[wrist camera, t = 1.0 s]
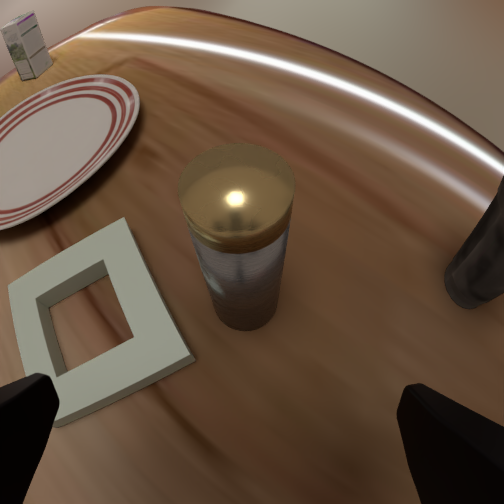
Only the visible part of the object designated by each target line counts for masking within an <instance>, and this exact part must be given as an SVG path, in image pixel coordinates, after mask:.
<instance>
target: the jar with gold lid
mask: <svg viewBox="0 0 504 504" xmlns="http://www.w3.org/2000/svg"><path fill="white" fill-rule="evenodd" d="M294 192H295V178H294V174H293V172H292V170H291V168H290V166H289V165H288V164H287V162H286V161H285V160H284V159H283V158H282V157H281V156H279V155H278V154H276V153H275V152H273V151H271V150H269V149H267V148H264V147H261V146H258V145H253V144H246V143H233V144H225V145H221V146H217V147H214V148H211V149H209V150H207V151H205V152H203V153H201V154H199V155H198V156H197V157H195V158H194V159H193V160H192V161H191V162H190V163H189V164H188V165H187V166H186V167H185V169H184V170H183V172H182V174H181V176H180V179H179V183H178V196H179V199H180V203H181V206H182V209H183V213H184V216H185V219H186V222H187V226H188V229H189V232H190V235H191V238H192V242H193V245H194V248H195V251H196V254H197V257H198V260H199V263H200V266H201V270H202V273H203V276H204V279H205V282H206V285H207V288H208V291H209V293H210V296H211V299H212V302H213V305H214V308H215V311H216V313H217V315H218V317H219V318H220V320H221V321H222V322H223V323H224V324H225V325H227V326H228V327H230V328H232V329H235V330H239V331H251V330H255V329H258V328H260V327H262V326H264V325H265V324H266V323H268V322H269V321H270V319H271V318H272V317H273V315H274V313H275V311H276V308H277V302H278V296H279V290H280V284H281V278H282V272H283V265H284V259H285V253H286V246H287V240H288V233H289V226H290V220H291V213H292V206H293V199H294Z"/></svg>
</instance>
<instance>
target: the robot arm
mask: <svg viewBox="0 0 504 504" xmlns="http://www.w3.org/2000/svg"><path fill="white" fill-rule="evenodd" d="M59 405H60V401H59V397H58V394H57V392H56V389H55V387H54V384H53V381H52V379H51V377H50V376H48V375H46V374H42V373H34V374H32V375H29V376H27V377H24V378H22V379H20V380H17V381H15V382H12V383H10V384H7V385H5V386H3V387H0V504H23V501H24V499H25V496H26V494H27V491H28V489H29V486H30V484H31V481H32V479H33V476H34V474H35V471H36V469H37V467H38V464H39V462H40V460H41V457H42V455H43V452H44V450H45V447H46V444H47V441H48V438H49V435H50V432H51V429H52V426H53V423H54V420H55V417H56V415H57V412H58V409H59ZM397 420H398V424H399V428H400V432H401V436H402V441H403V445H404V449H405V453H406V458H407V462H408V466H409V469H410V472H411V475H412V478H413V481H414V484H415V486H416V489H417V492H418V495H419V498H420V501H421V504H504V427H503V426H501V425H499V424H497V423H495V422H493V421H491V420H490V419H488V418H486V417H484V416H482V415H480V414H478V413H476V412H474V411H472V410H470V409H468V408H467V407H465V406H463V405H461V404H459V403H457V402H455V401H453V400H451V399H450V398H448V397H446V396H444V395H442V394H440V393H438V392H437V391H435V390H433V389H431V388H429V387H427V386H425V385H424V384H421V383H417V384H411V385H407V386H406V387H405V388H404V390H403V393H402V396H401V399H400V403H399V406H398V409H397Z"/></svg>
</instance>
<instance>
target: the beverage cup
mask: <svg viewBox="0 0 504 504" xmlns="http://www.w3.org/2000/svg"><path fill="white" fill-rule="evenodd" d="M445 285H446V289H447V291H448V293H449V295H450V297H451V298H452V299H453V300H454V302H455V303H456V304H458V305H459V306H461V307H463V308H467V309H472V308H476V307H477V306H478V305H481V304H483V303H487V302H489V301H490V300H492V299H494V298H496V297H497V296H499V295H501V294H503V293H504V176H503V178H502V181H501V183H500V185H499V188H498V192H497V194H496V196H495V197H494V199H493V201H492V202H491V204H490V205H489V207H488V209H487V210H486V212H485V213H484V215H483V216H482V218H481V219H480V221H479V222H478V224H477V225H476V227H475V228H474V230H473V231H472V233H471V234H470V236H469V237H468V238H467V240H466V241H465V243H464V244H463V246H462V247H461V248H460V250H459V251H458V252H457V254H456V255H455V257H454V258H453V261H452V262H451V263H450V264H449V266H448V267H447V269H446V272H445Z"/></svg>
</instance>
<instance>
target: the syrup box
mask: <svg viewBox="0 0 504 504" xmlns="http://www.w3.org/2000/svg"><path fill="white" fill-rule="evenodd" d="M1 32H2V35H3V38H4V40H5V43H6V45H7V48H8V50H9V53H10V55H11V57H12V60H13V62H14V64H15V67H16V69H17V71H18V73H19V76H20V78H21V80H22V81H24V80H29V79H33V78H37V77H38V76H40V75H41V74H42V73H43V72H45V71H46V70H47V69H48V68H49V67H50V66H51V65H53V63H52V60H51V58H50V55H49V53H48V50H47V47H46V45H45V42H44V39H43V36H42V34H41V31H40V28H39V25H38V22H37V19H36V16H35V13H34V11H30V12H28V13H26V14H23V15H21V16H19V17H17V18H15V19H13V20H12V21H10V22H9V23H7V24H6V25H5V26H3V27H2V28H1Z"/></svg>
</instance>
